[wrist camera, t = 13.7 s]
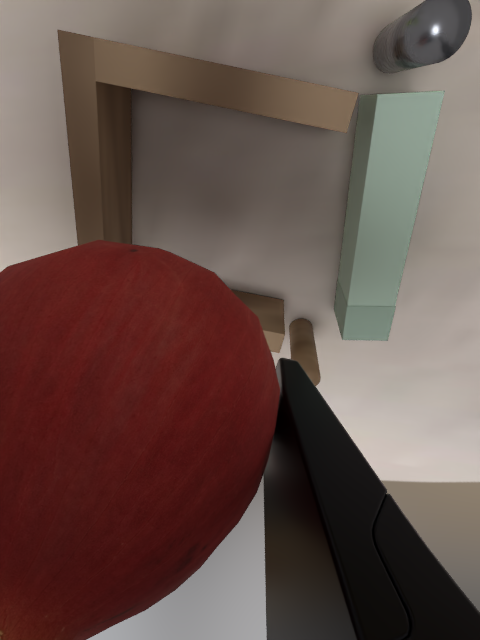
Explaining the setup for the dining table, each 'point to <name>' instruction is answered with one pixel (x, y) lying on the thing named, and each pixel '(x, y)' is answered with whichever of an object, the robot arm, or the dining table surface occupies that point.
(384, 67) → the pin
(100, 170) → the brown u-shaped frame
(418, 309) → the dining table surface
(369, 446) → the dining table surface
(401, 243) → the leg bar
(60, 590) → the pomegranate
